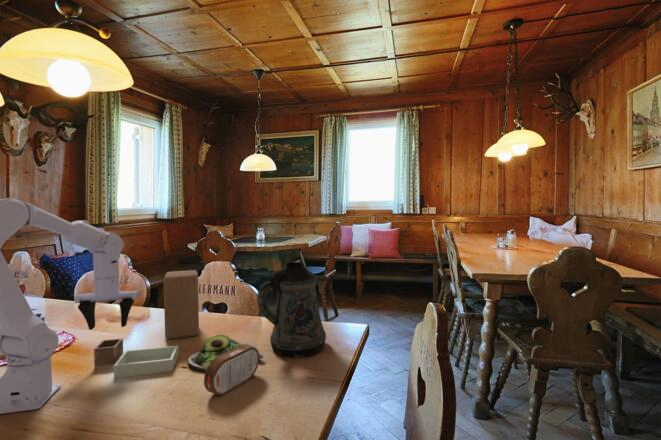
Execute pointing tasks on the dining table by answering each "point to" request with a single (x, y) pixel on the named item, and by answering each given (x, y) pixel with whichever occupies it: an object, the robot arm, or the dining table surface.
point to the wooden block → (181, 304)
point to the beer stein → (293, 312)
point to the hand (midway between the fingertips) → (108, 327)
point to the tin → (231, 369)
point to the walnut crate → (108, 352)
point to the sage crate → (146, 361)
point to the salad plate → (213, 351)
